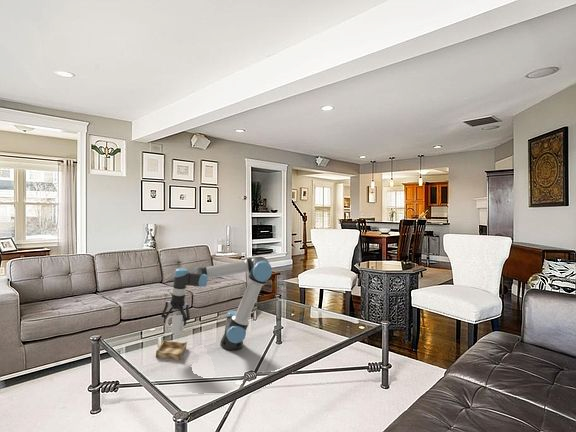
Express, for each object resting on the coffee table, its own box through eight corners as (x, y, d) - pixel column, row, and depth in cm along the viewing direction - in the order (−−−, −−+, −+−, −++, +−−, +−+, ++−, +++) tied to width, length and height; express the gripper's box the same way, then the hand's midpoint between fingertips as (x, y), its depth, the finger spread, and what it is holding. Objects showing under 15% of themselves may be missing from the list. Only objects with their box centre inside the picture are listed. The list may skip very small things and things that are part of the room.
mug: (181, 329, 216) (183, 310, 215) (182, 334, 210) (185, 315, 209) (164, 329, 212) (166, 311, 211) (165, 334, 206) (167, 315, 205)
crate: (185, 348, 220) (186, 342, 220) (180, 360, 206) (181, 353, 205) (163, 345, 219) (163, 339, 219) (155, 357, 205) (156, 350, 204)
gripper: (198, 294, 213) (193, 329, 215) (162, 289, 212) (157, 324, 214) (195, 298, 206) (191, 334, 208) (158, 293, 204) (153, 329, 206)
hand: (174, 329), depth 211 cm, fingers closed on mug, 9 cm apart
